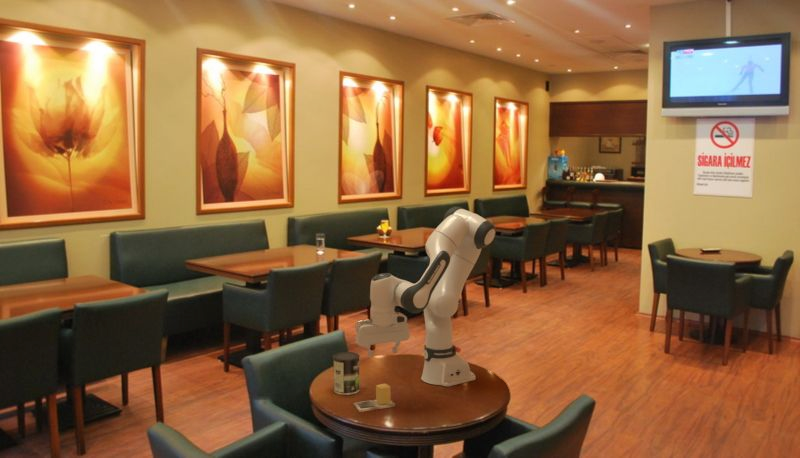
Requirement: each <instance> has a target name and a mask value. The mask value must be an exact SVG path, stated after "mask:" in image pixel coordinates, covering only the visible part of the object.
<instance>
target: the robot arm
mask: <svg viewBox="0 0 800 458" xmlns="http://www.w3.org/2000/svg"><path fill="white" fill-rule="evenodd" d="M496 235H497V231H496V226H495V225H494V223H492V222H491V221H490V220H487V219H486V218H484V217H483V216H480V215H479V214H477V213H474V212H472V211H469V210H467V209H465V208H463V207H461V206H453V207H450V208H449V209H448V210H446V212H445V214H444V217H443V221H441V222H440V223H439V225H437V227H436V228H435V229H434V230H433V232H432V233H431V234H430V235H429V237H428V238H427V240H426V243H425V244H424V247H425V253H426V254H427V256H428V258H429V265H428V266H427V268H426V269H425V271H424V272H423V274H422V276H420V277H421V278H420V279H419V280H418V281H417V282H416V283H414V282H413V283H412V282H411V281H408V280H405V279H401V278H398V277H397V276H394V275H392V273H389V272H382V273H378V274H375V275H374V276H373V277H372V279H371V281H370V288H369V289H370V291H369V299H370V300H369V301H370V302H371V304H370V305H371V306H370V314H369V315H370V318H368V319H367V318H366V319H361V320H358V322H356V323H355V332H356V333H355V343H356V345H358V346H359V347H365V348H366V350H367V353H368V357H373V356H374V351H373V350H371V348H372V347H371V346H372V345H373V346H374V345H381V344H387V343H394V347H391V348H392V349H391V350H392V353H393V354H397V353H399V352H398V349H399V348H400V346H401V342H402V341H403V342H404V341H408V340H409V339H410V336H411V335H410V326H409V324H408V322H407V321H408V317H407V316H406V315H405V314H403V313H402V312H397V311H395V308H396V307H400V308H402V309H404V310H406V311H408V312H409V313H411V314H419V313H421V312H423V315H424V316H423V317H424V324H425V339H424V340H425V344H424V348H423V357H424V364H423V368H422V369H423V370H422V375H421V377H420V380H421V381H423V382H424V383H426V384H429V385H437V386H443V387H452V386H456V385H461V384H464V383H467V382H473V381H476V375H475V373H474V372H473V371H471V368H470V365H469V362H468V361H467V360H466V359H464V358H463V357H461V356H460V355H459V354H457V353H461V347H459V346H456V345H454V344H453V331H454V330H453V324H452V319H451V318H452V316H454V315H455V313H456V312H457V310H458V309H459V301H460V298H461V294H462V292H463V289H464V286H465V284H466V281H467V279H468V278H469V276H470V274H471V272H472V271H473V268H474V267H475V265H476V263H477V261H478V259H479V257H480V255H481V252H482V249H483V248H485V247H488V246H490V244H491V243H493V241H494V239H495V238H496V237H495V236H496Z"/></svg>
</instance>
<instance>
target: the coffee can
mask: <svg viewBox="0 0 800 458" xmlns="http://www.w3.org/2000/svg"><path fill="white" fill-rule="evenodd" d="M332 359H333V392H334V393H335V394H337V395H339V396H350V395H354V394H358V393H359V392H360V354H359V353H356V352H354V351H353V352H352V351H342V352H337V353H335V354H334V355H332Z"/></svg>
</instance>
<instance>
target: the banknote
mask: <svg viewBox="0 0 800 458" xmlns="http://www.w3.org/2000/svg"><path fill="white" fill-rule="evenodd" d="M352 405H353V406H354V408H355V409H356V410H357V411H358V413H362V412H368V411H374V410H375V411H376V410H383V409H387V408H388V409H389V408H394V407H396V403H395V402H394V401H393V400H391V402H390V403H385V404H380V403H378V402H377V401H376V399H371V400H365V401H364V400H363V401H359V402H358V401H357V402H353V404H352Z"/></svg>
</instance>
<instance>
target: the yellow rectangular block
mask: <svg viewBox="0 0 800 458" xmlns="http://www.w3.org/2000/svg"><path fill="white" fill-rule="evenodd" d="M391 389H392V388H391V386H390V385H389V384H387V383H381V384H376V386H375V400H376V401H377V402H378V403H380V404H385V403H390V402H391V401H392V399H391V398H392V396H391V394H392V393H391Z"/></svg>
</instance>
